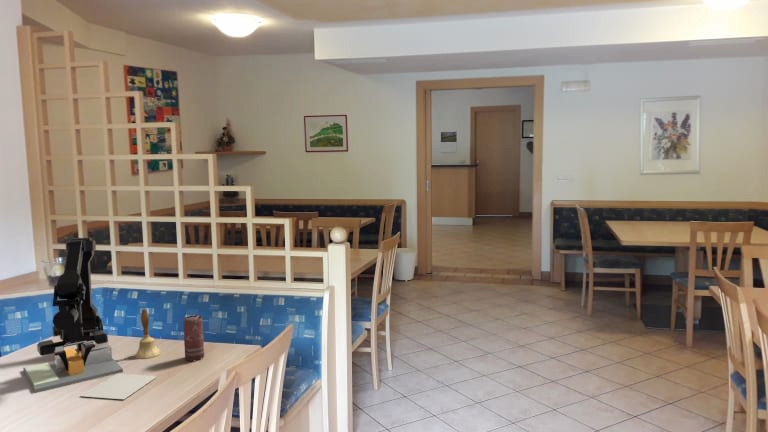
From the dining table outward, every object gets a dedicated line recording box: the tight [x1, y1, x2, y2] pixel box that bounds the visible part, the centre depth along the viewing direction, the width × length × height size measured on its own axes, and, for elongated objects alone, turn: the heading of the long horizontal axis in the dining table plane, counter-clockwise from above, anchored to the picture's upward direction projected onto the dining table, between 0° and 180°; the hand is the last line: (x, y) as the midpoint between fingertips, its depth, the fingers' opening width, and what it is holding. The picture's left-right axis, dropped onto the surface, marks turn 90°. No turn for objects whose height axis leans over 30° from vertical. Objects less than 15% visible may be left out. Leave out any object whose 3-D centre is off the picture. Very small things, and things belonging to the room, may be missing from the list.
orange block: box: [63, 347, 84, 375], centre depth 183 cm, size 4×14×4 cm, turn 39°
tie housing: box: [54, 344, 113, 372], centre depth 185 cm, size 16×3×4 cm, turn 129°
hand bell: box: [134, 308, 162, 360], centre depth 196 cm, size 8×8×16 cm
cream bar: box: [91, 341, 109, 350], centre depth 187 cm, size 7×2×2 cm, turn 129°
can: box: [182, 315, 205, 361], centre depth 193 cm, size 6×6×14 cm
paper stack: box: [80, 373, 158, 400], centre depth 165 cm, size 23×25×1 cm
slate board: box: [22, 357, 124, 393], centre depth 183 cm, size 24×22×1 cm
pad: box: [25, 362, 59, 386], centre depth 178 cm, size 6×18×1 cm, turn 40°
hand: (75, 368), depth 180 cm, fingers closed on orange block, 4 cm apart
